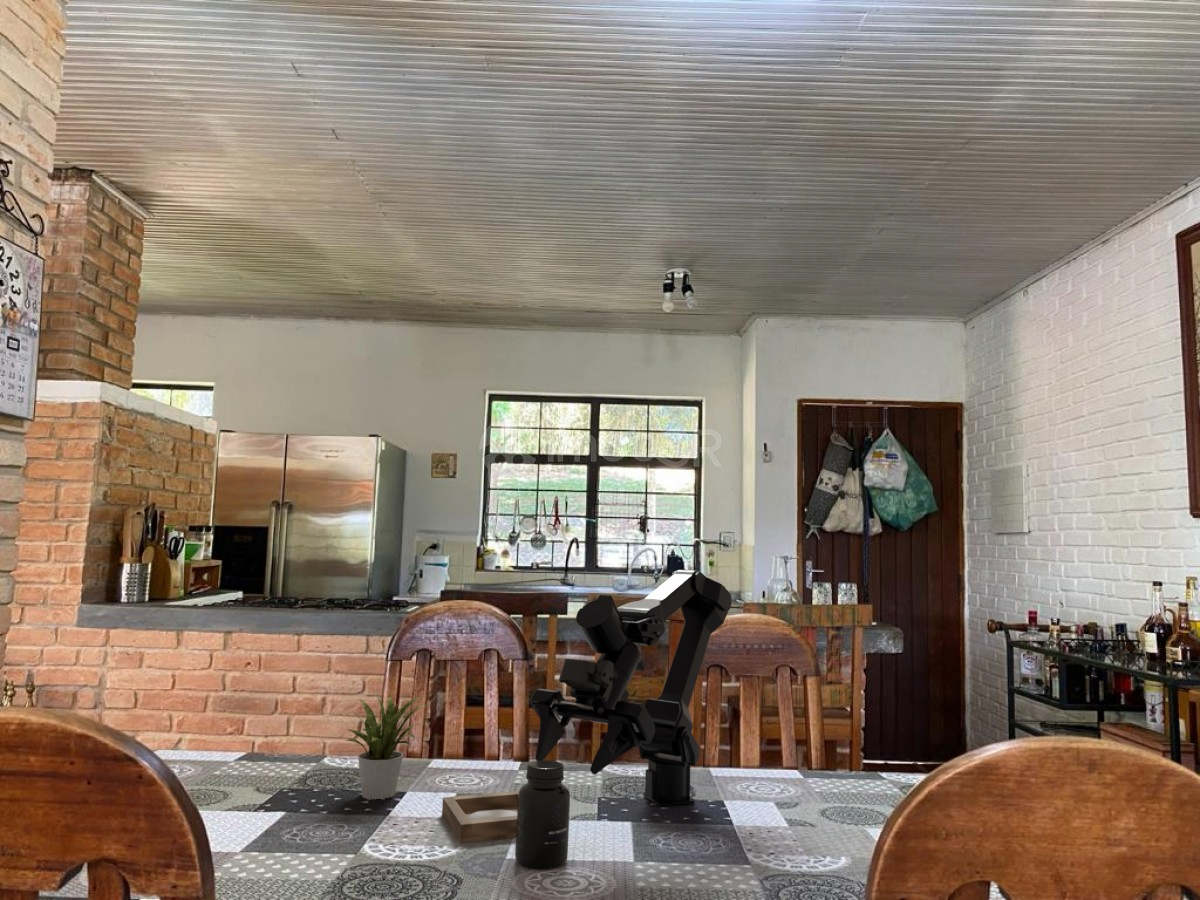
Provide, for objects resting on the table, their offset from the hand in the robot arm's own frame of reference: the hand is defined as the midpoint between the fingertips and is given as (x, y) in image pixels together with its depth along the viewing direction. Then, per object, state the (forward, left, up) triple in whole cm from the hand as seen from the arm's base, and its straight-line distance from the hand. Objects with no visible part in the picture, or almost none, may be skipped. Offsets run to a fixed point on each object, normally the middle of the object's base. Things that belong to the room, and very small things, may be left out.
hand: (564, 766), depth 107 cm
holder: (+6, -14, -11) cm, 18 cm away
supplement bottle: (+4, +2, -11) cm, 12 cm away
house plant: (+19, -33, -11) cm, 39 cm away
